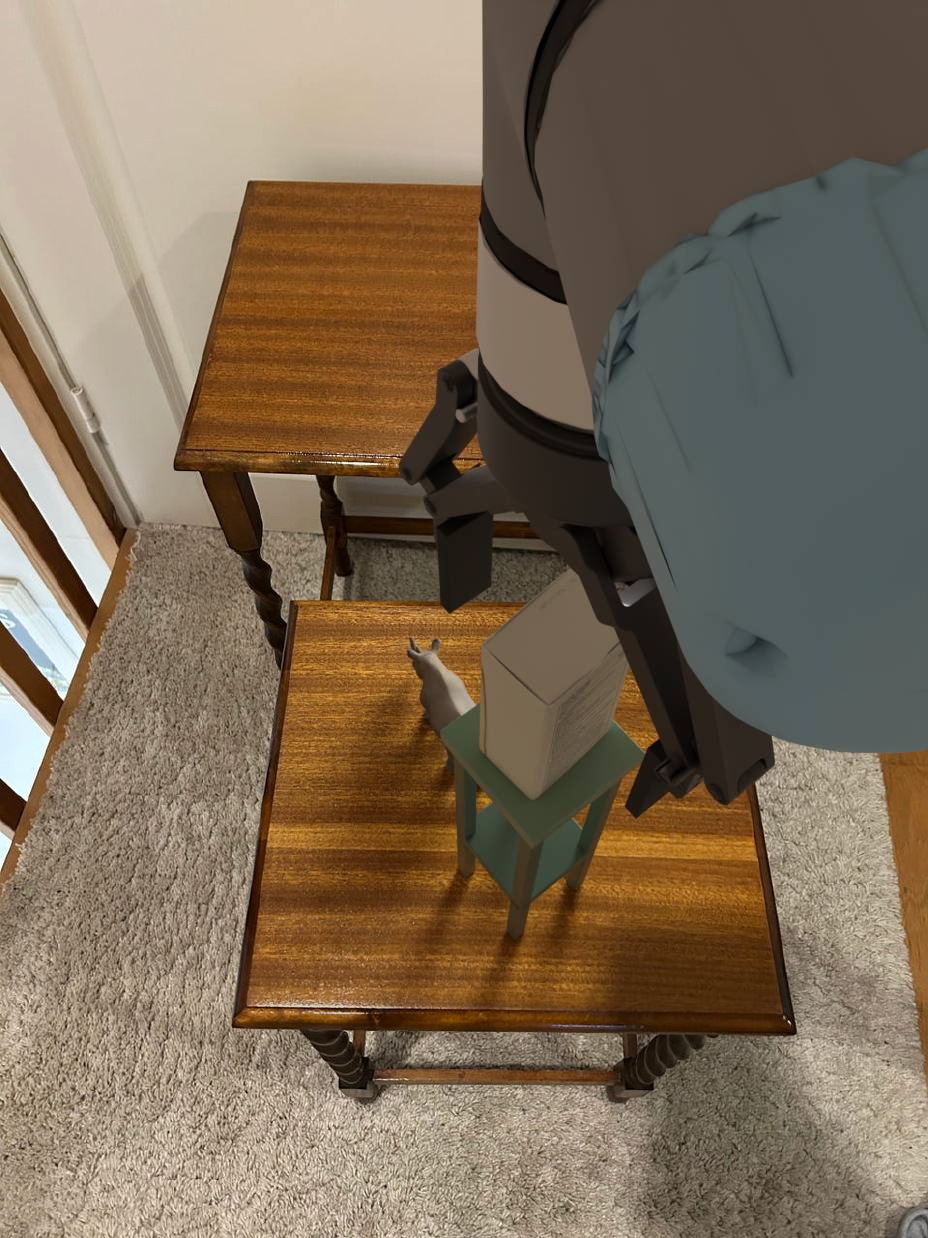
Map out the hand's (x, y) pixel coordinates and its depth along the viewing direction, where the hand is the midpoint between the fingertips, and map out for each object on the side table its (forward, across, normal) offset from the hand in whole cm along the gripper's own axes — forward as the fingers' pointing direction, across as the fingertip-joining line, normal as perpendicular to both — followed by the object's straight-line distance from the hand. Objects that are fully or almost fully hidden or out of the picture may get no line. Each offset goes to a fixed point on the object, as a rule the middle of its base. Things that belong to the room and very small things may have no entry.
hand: (553, 689), depth 45 cm
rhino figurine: (+33, +15, -4) cm, 37 cm away
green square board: (+8, 0, 0) cm, 8 cm away
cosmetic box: (+7, 0, 0) cm, 7 cm away
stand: (+33, 0, 0) cm, 33 cm away
